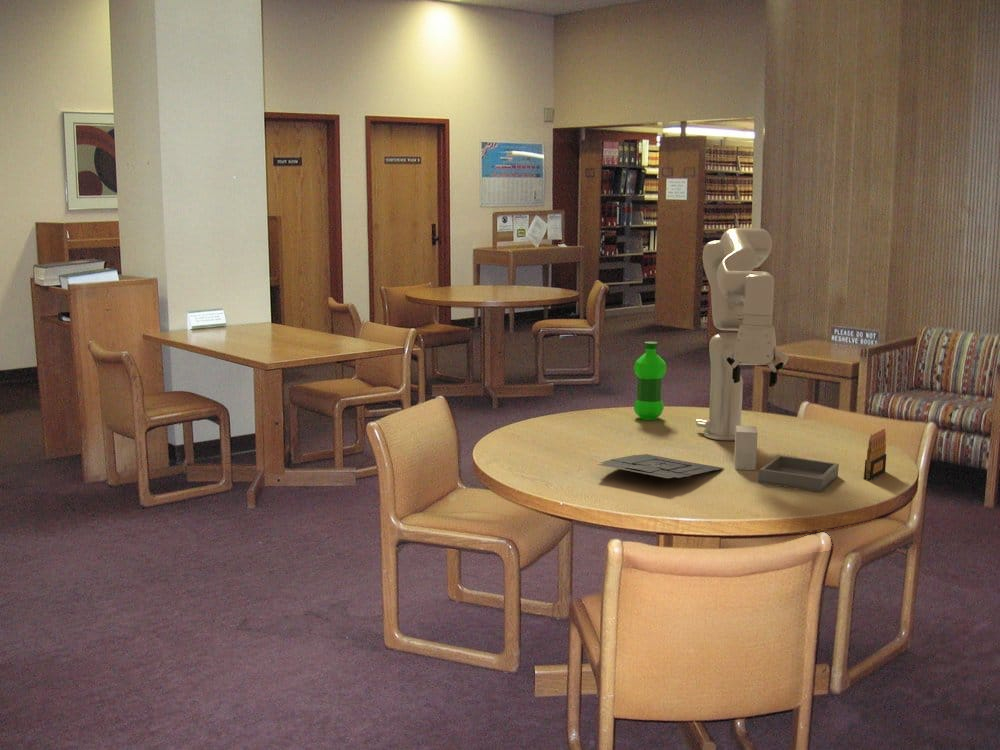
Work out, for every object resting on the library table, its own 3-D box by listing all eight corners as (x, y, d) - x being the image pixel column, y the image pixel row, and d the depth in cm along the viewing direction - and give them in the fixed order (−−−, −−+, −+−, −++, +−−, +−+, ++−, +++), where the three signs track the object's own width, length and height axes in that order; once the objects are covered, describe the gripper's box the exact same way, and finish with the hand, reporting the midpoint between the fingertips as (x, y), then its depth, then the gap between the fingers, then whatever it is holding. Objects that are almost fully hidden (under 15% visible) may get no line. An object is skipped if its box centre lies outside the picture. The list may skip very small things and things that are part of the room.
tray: (758, 482, 267) (759, 469, 266) (777, 467, 281) (778, 455, 280) (821, 492, 259) (822, 479, 258) (837, 476, 273) (838, 463, 272)
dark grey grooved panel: (589, 473, 269) (590, 460, 269) (644, 463, 294) (645, 450, 293) (673, 490, 255) (675, 476, 255) (724, 478, 279) (725, 464, 279)
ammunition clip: (878, 470, 279) (881, 427, 277) (885, 472, 278) (888, 428, 276) (863, 479, 271) (866, 434, 269) (870, 480, 270) (873, 435, 268)
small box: (755, 471, 278) (757, 432, 276) (734, 469, 279) (736, 431, 277) (754, 463, 285) (756, 426, 283) (733, 462, 286) (735, 424, 285)
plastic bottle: (665, 415, 342) (667, 340, 338) (662, 422, 332) (665, 345, 328) (634, 414, 345) (637, 339, 340) (631, 420, 335) (633, 344, 330)
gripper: (721, 319, 276) (718, 383, 279) (786, 324, 268) (782, 389, 271) (730, 317, 283) (727, 378, 286) (794, 321, 274) (790, 385, 277)
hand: (754, 384), depth 278 cm, fingers open, 9 cm apart
